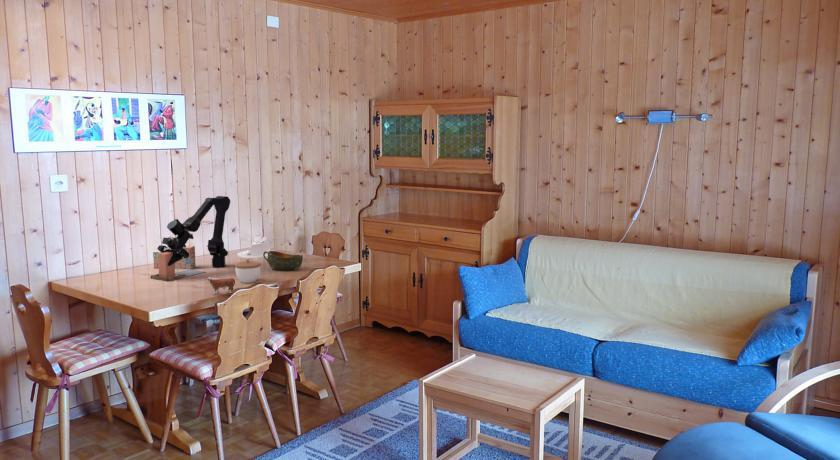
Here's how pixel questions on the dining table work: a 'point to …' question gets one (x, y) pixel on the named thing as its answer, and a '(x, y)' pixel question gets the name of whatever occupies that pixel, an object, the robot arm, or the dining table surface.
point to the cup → (283, 261)
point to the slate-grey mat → (189, 272)
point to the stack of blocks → (183, 263)
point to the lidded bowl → (248, 271)
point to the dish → (257, 249)
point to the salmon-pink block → (165, 265)
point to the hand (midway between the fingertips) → (164, 265)
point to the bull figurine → (221, 284)
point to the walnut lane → (167, 278)
